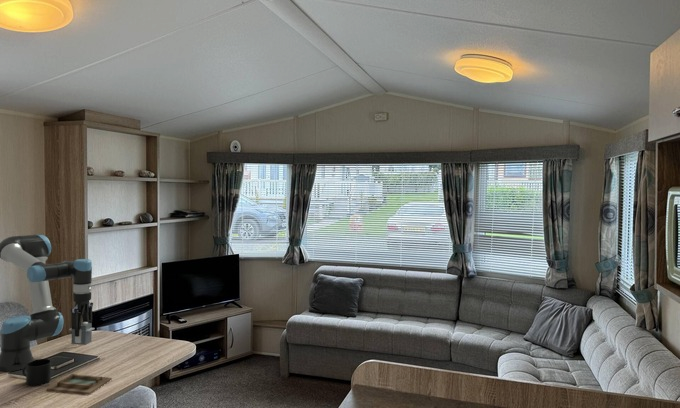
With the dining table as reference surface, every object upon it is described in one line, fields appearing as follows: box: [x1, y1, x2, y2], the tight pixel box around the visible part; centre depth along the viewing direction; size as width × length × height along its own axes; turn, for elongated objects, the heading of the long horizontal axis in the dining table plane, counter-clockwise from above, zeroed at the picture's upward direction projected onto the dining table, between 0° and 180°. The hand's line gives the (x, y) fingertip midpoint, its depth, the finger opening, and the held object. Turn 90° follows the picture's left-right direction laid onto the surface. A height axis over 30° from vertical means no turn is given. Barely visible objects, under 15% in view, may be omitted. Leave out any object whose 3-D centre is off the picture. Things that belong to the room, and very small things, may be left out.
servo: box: [68, 321, 95, 346], centre depth 225 cm, size 10×4×10 cm, turn 84°
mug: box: [21, 358, 52, 387], centre depth 215 cm, size 9×12×9 cm
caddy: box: [46, 373, 112, 395], centre depth 213 cm, size 20×16×2 cm
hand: (81, 340), depth 225 cm, fingers closed on servo, 4 cm apart
